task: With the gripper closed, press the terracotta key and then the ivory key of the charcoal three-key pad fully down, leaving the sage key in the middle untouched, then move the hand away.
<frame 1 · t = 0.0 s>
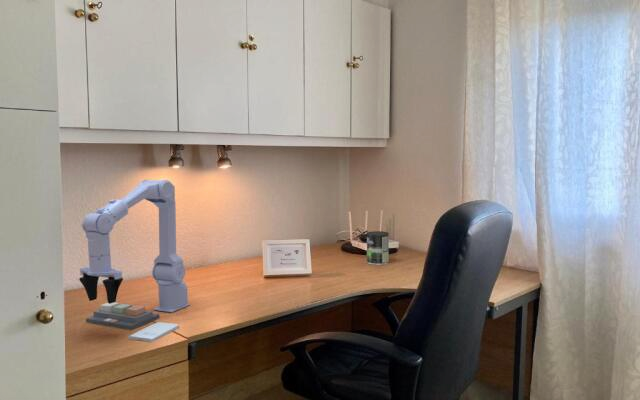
hand: (102, 301, 150), 10 cm above the table, tool pointing down, fingers open, 7 cm apart
key a: (110, 307, 166), point 4 cm above the table, slide at 0.0 cm
keypad: (123, 320, 164), on the table
external hard drive: (154, 335, 152), on the table
key c: (135, 311, 162), point 4 cm above the table, slide at 0.0 cm
key b: (122, 309, 164), point 4 cm above the table, slide at 0.0 cm
coffee can: (377, 263, 242), on the table
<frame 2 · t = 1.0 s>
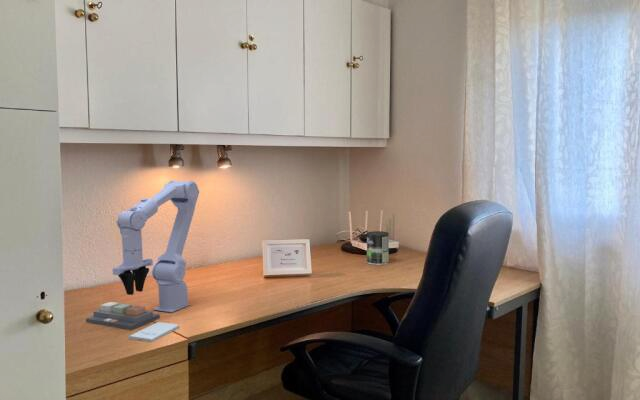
hand: (134, 292, 161), 9 cm above the table, tool pointing down, fingers open, 3 cm apart
nothing on the table moved.
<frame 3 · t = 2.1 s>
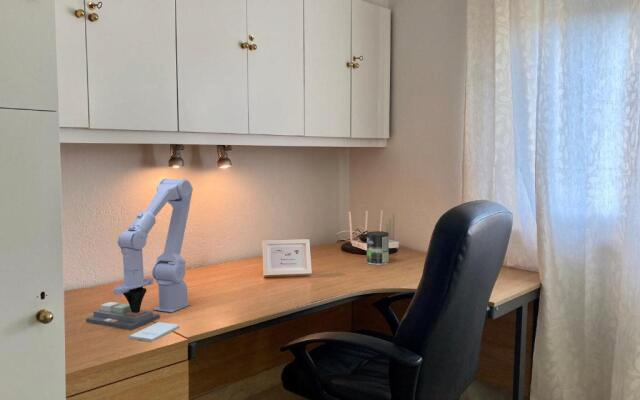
hand: (135, 312, 162), 3 cm above the table, tool pointing down, fingers closed, pressing on key c
key c: (136, 315, 162), point 2 cm above the table, slide at 1.3 cm, touching gripper
everything else where it was.
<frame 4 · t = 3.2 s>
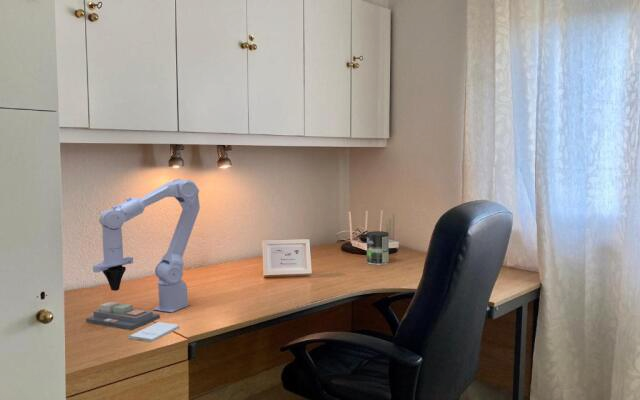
hand: (115, 290, 164), 9 cm above the table, tool pointing down, fingers closed
key c: (136, 315, 162), point 2 cm above the table, slide at 1.3 cm
everything else where it was.
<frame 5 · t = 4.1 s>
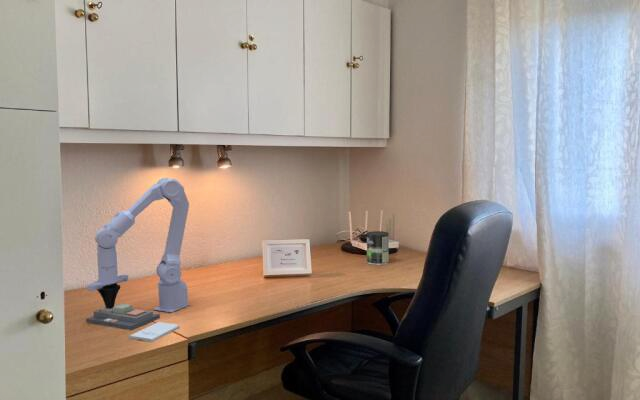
hand: (109, 308, 166), 3 cm above the table, tool pointing down, fingers closed, pressing on key a
key a: (110, 310, 166), point 2 cm above the table, slide at 1.2 cm, touching gripper
everything else where it was.
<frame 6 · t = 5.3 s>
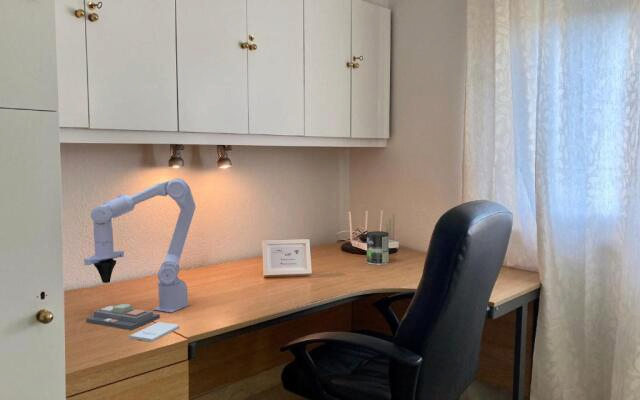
hand: (106, 282, 171), 10 cm above the table, tool pointing down, fingers closed
key a: (110, 311, 166), point 2 cm above the table, slide at 1.3 cm
everything else where it was.
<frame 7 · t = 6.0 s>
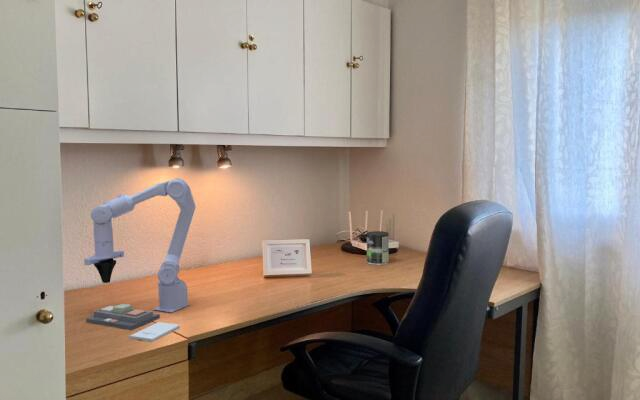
hand: (106, 282, 171), 10 cm above the table, tool pointing down, fingers closed
nothing on the table moved.
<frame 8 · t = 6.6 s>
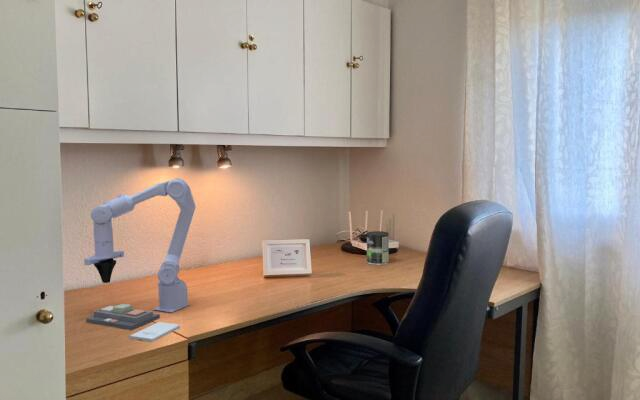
hand: (106, 282, 171), 10 cm above the table, tool pointing down, fingers closed
nothing on the table moved.
at the end: key c slide at 1.3 cm; key a slide at 1.3 cm; key b slide at 0.0 cm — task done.
